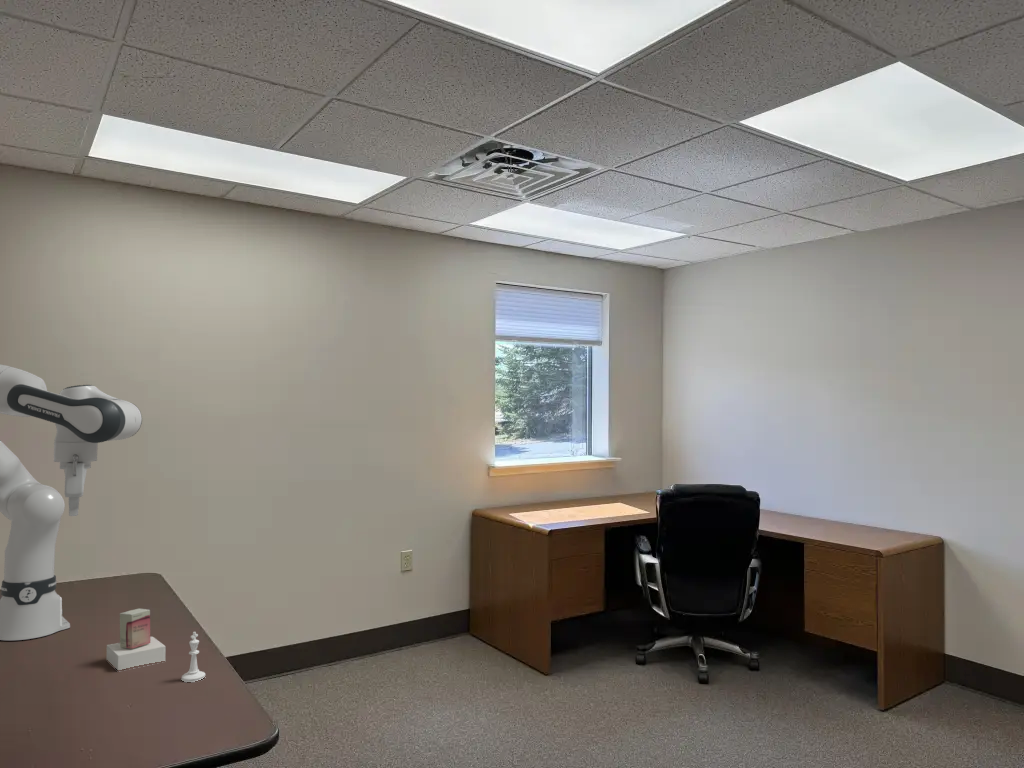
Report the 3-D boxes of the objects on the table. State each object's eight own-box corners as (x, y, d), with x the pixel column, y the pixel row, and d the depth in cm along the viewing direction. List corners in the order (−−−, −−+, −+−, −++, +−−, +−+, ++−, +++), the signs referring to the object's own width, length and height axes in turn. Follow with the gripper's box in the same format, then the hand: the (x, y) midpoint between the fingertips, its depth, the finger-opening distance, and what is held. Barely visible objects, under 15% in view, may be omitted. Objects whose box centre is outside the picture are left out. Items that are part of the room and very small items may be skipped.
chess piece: (210, 676, 162) (211, 630, 162) (194, 683, 158) (195, 636, 158) (192, 673, 164) (193, 627, 164) (175, 681, 159) (176, 634, 159)
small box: (131, 649, 168) (131, 614, 169) (119, 647, 170) (119, 613, 171) (151, 643, 173) (150, 609, 173) (139, 641, 175) (138, 607, 175)
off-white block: (106, 662, 172) (106, 645, 172) (152, 653, 179) (152, 636, 179) (117, 673, 165) (118, 655, 165) (165, 663, 171) (165, 646, 171)
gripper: (91, 455, 165) (89, 517, 165) (91, 452, 183) (89, 507, 183) (58, 456, 162) (56, 519, 162) (61, 452, 180) (59, 509, 179)
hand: (73, 513), depth 172 cm, fingers open, 8 cm apart
